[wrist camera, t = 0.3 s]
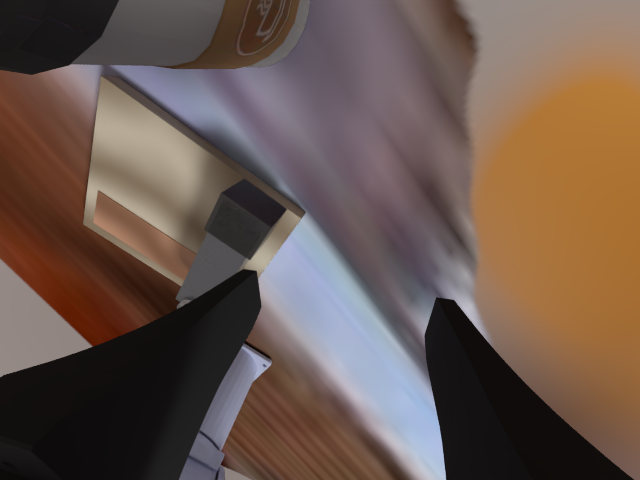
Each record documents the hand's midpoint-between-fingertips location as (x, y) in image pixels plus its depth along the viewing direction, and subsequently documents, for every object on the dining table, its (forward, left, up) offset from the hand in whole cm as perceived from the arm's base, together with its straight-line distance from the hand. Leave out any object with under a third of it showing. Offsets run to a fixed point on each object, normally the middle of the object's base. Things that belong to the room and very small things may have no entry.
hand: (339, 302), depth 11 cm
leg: (-9, +6, -8) cm, 13 cm away
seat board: (-10, +11, -10) cm, 18 cm away
